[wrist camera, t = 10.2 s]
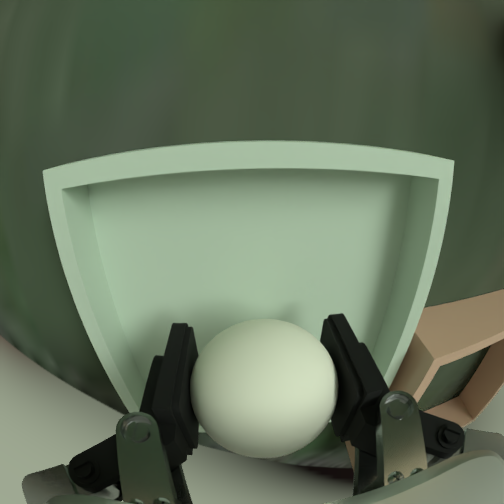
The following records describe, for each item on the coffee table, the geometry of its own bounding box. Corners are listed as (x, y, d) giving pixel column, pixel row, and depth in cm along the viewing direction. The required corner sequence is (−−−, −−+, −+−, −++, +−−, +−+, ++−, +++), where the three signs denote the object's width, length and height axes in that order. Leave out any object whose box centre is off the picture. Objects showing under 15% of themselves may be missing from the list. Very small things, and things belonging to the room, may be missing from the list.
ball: (325, 286, 10) (380, 392, 5) (310, 374, 12) (336, 465, 7) (187, 293, 10) (162, 411, 5) (205, 381, 12) (199, 476, 7)
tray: (418, 152, 10) (454, 160, 8) (364, 384, 16) (376, 411, 14) (76, 161, 9) (42, 170, 7) (145, 397, 15) (138, 427, 13)
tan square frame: (522, 283, 14) (548, 306, 11) (460, 397, 21) (474, 421, 17) (399, 312, 14) (434, 358, 10) (344, 439, 20) (354, 472, 16)
